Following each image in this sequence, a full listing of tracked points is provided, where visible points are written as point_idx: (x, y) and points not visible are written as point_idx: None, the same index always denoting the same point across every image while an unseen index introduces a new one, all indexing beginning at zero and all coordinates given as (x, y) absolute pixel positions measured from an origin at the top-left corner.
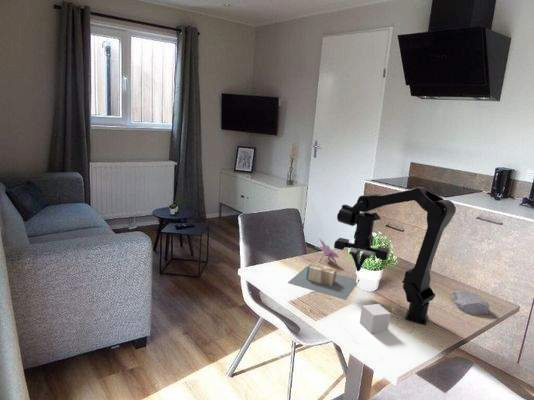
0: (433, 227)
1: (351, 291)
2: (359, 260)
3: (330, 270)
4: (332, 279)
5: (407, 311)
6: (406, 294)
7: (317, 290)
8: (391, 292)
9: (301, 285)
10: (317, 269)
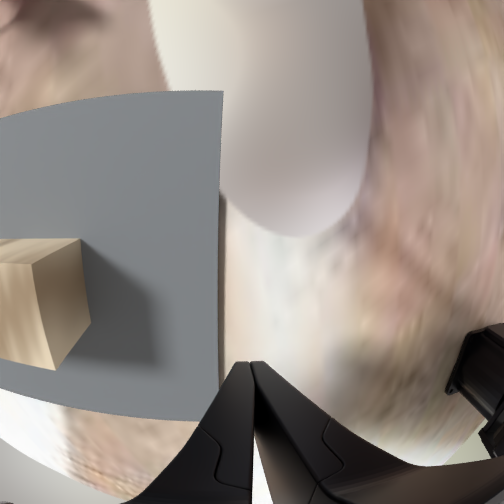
0: None
1: (217, 325)
2: (253, 442)
3: (16, 325)
4: (73, 339)
5: (466, 348)
6: (487, 450)
7: (75, 401)
8: (429, 167)
9: (11, 382)
10: None
